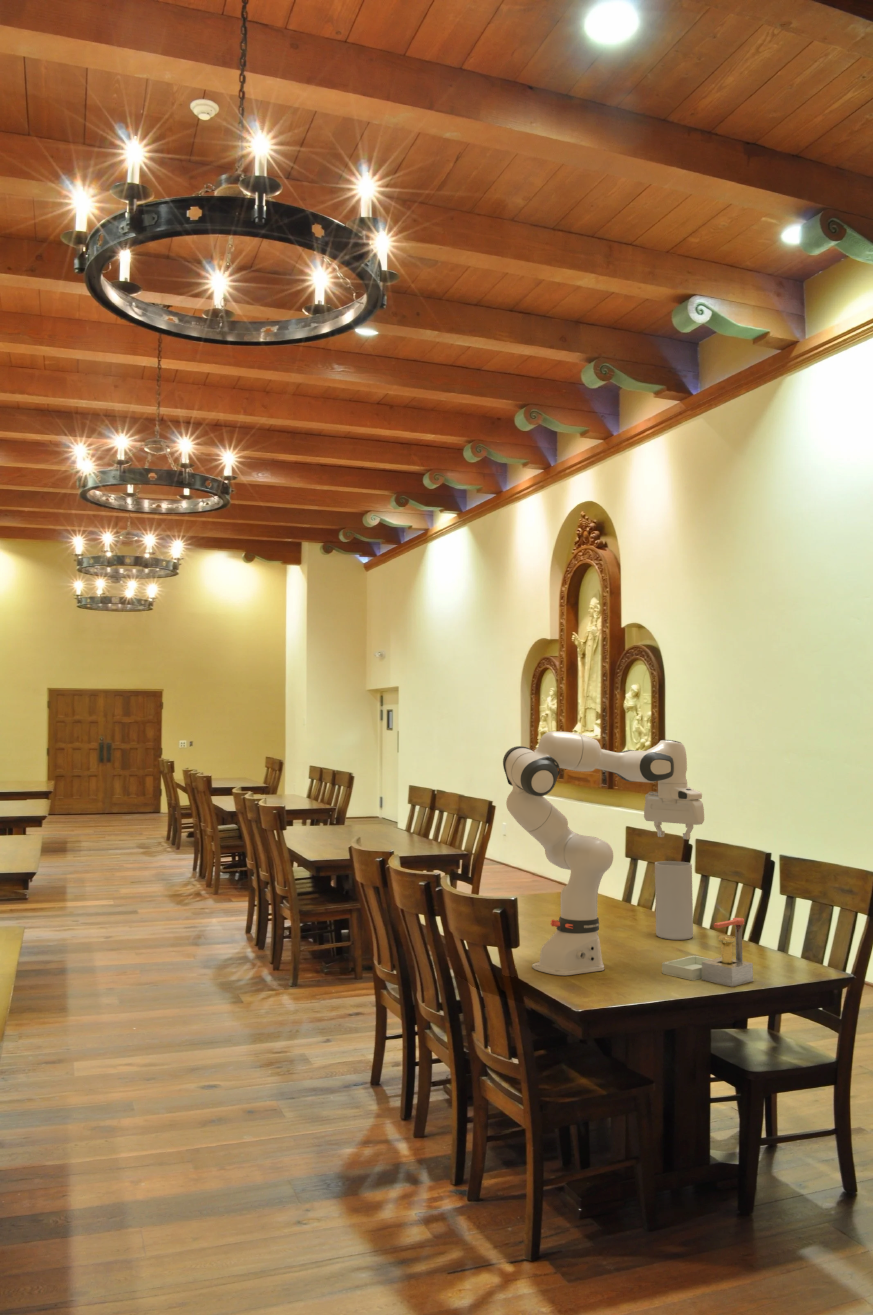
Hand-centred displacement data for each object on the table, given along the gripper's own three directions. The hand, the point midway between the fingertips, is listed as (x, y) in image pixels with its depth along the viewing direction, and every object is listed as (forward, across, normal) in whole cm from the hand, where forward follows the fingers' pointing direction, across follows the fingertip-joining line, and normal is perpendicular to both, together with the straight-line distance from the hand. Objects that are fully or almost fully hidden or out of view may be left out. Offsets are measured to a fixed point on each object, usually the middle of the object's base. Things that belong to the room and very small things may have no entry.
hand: (673, 838), depth 298 cm
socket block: (+38, +22, -4) cm, 44 cm away
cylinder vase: (+38, -25, +33) cm, 56 cm away
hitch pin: (+38, +22, -6) cm, 44 cm away
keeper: (+23, +22, -4) cm, 32 cm away
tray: (+38, +10, -5) cm, 40 cm away
